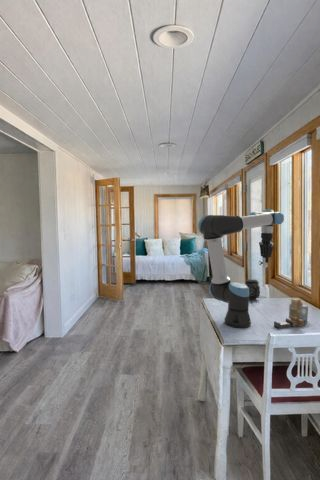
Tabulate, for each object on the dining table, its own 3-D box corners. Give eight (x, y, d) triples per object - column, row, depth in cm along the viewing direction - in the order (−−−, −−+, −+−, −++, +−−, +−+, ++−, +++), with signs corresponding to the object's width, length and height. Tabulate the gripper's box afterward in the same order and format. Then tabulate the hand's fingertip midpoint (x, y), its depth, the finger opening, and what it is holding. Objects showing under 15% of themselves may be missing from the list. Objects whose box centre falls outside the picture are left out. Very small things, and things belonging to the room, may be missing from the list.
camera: (260, 301, 235) (260, 282, 234) (245, 300, 237) (246, 281, 236) (258, 298, 245) (259, 279, 244) (244, 297, 247) (245, 278, 246)
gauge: (298, 313, 192) (298, 303, 191) (292, 311, 196) (293, 301, 195) (303, 313, 193) (304, 303, 193) (298, 311, 197) (298, 301, 197)
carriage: (293, 326, 179) (294, 301, 178) (285, 323, 185) (286, 298, 184) (303, 325, 182) (305, 300, 181) (296, 322, 188) (297, 297, 187)
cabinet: (298, 321, 190) (299, 307, 189) (288, 318, 197) (289, 304, 196) (307, 320, 192) (308, 306, 192) (297, 317, 199) (298, 303, 199)
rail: (278, 328, 177) (279, 323, 176) (273, 326, 180) (274, 320, 180) (305, 325, 184) (306, 319, 184) (300, 323, 188) (300, 317, 187)
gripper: (278, 233, 206) (276, 268, 208) (265, 232, 218) (263, 265, 220) (269, 233, 203) (267, 268, 205) (256, 232, 216) (254, 265, 217)
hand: (265, 267), depth 212 cm, fingers closed
